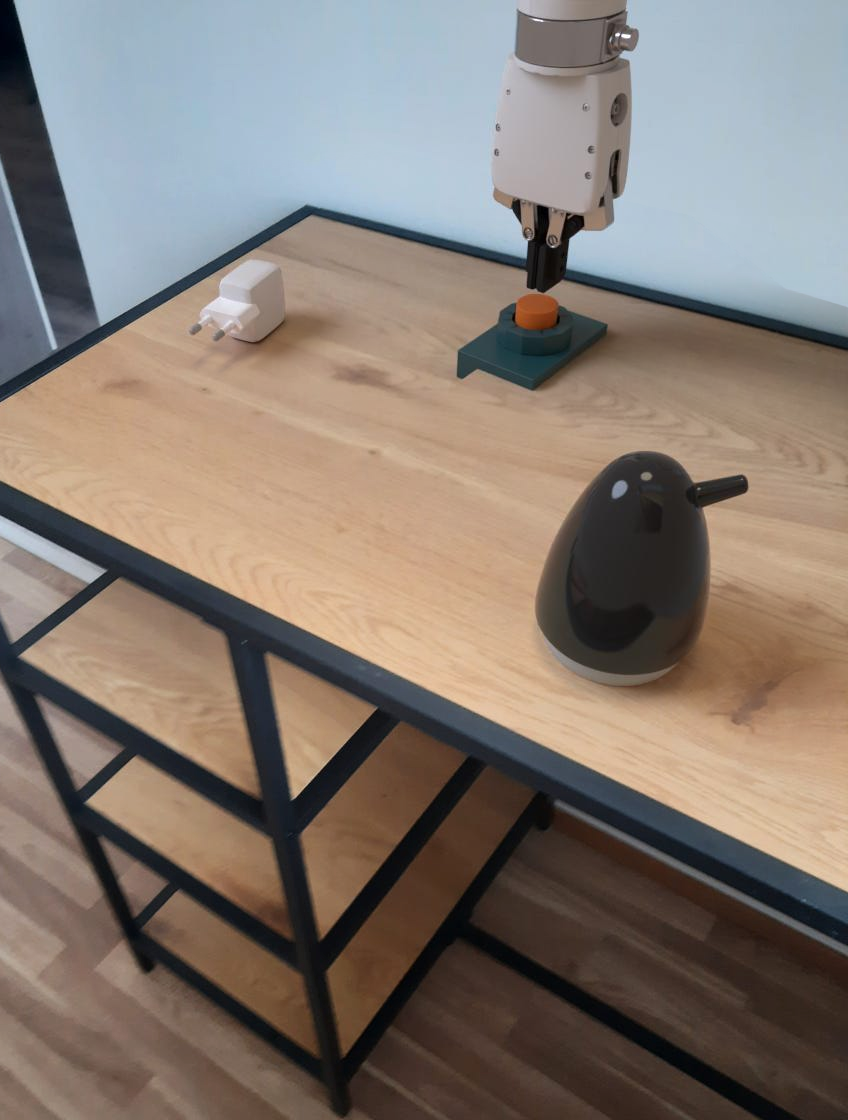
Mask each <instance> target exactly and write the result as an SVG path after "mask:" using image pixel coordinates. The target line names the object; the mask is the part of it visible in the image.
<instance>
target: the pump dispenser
mask: <svg viewBox="0 0 848 1120" xmlns="http://www.w3.org/2000/svg"><path fill="white" fill-rule="evenodd" d="M749 487H750V486H749V481H748V478H747V476H746V475H744V474H741V473H740V474H736V475H731V476H725V477H724V476H723V477H719V478H714V479H709V480H704V481H697V482H694V481H693V479H692V477H691V476H690V474H689V472H688V471H687V470H686V469H685V467H684V466H683V465H682V464H681V463H680V462H679V461H678V460H677V459H675V458H673V457H672V456H670V455H668V454H665V453H663V452H658V451H656V450H655V451H654V450H638V451H633V452H628V453H625V454H623V455H621V456H619V457H617V458H615V459H614V460H612V461H611V462H610V463H608V464H607V465H606V466H605V467H603V468H602V469H601V470H600V471H599V472H598V473H597V474H596V475H595V476H594V477H593V478H592V479H591V481H590V482H589V483H588V484H587V485H586V487H585V488H584V489H583V490H582V492H581V493H580V495H579V496H578V498H577V499H576V500H575V502H574V503H573V505H572V506H571V507H570V509H569V511H568V513H567V514H566V515H565V517H564V520H562V523H561V524H560V526H559V528H558V531H557V532H556V534H555V537H554V538H553V540H552V543H551V546H550V548H549V550H548V552H547V554H546V558H545V560H544V561H545V562H544V563H543V567H542V569H541V573H540V575H539V580H538V583H537V587H536V593H535V599H534V615H535V619H536V623H537V625H538V628H539V630H540V631H541V633H542V636H543V639H544V642H545V644H546V646H547V648H548V650H549V651H550V653H551V654H552V656H553V657H554V658H555V660H557V662H559V663H560V664H561V665H562V666H563V667H564V668H565V669H567V670H568V671H569V672H571V673H572V674H575V675H576V676H578V677H580V678H582V679H585V680H587V681H590V682H592V683H596V684H600V685H605V686H612V687H633V686H640V685H645V684H648V683H651V682H654V681H656V680H657V679H659V678H662V677H663V676H665V675H667V674H668V673H669V672H670V671H671V670H673V669H674V667H676V666H677V664H679V663H680V662H681V661H683V660H684V659H686V658H687V657H688V656H689V655H690V654H691V653H692V651H693V650H694V649H695V648H696V646H697V644H698V642H699V640H700V638H701V634H702V631H703V629H704V625H705V621H706V616H707V612H708V604H709V596H710V588H711V573H712V560H711V559H712V558H711V556H712V555H711V544H710V536H709V529H708V528H709V527H708V524H707V518H706V515H705V511H704V508H706V507H709V506H711V505H714V504H717V503H722V502H723V501H727V500H729V499H730V500H731V499H733V498H737V497H739V496H743V495H745V494H747V493H748V491H749Z"/></svg>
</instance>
